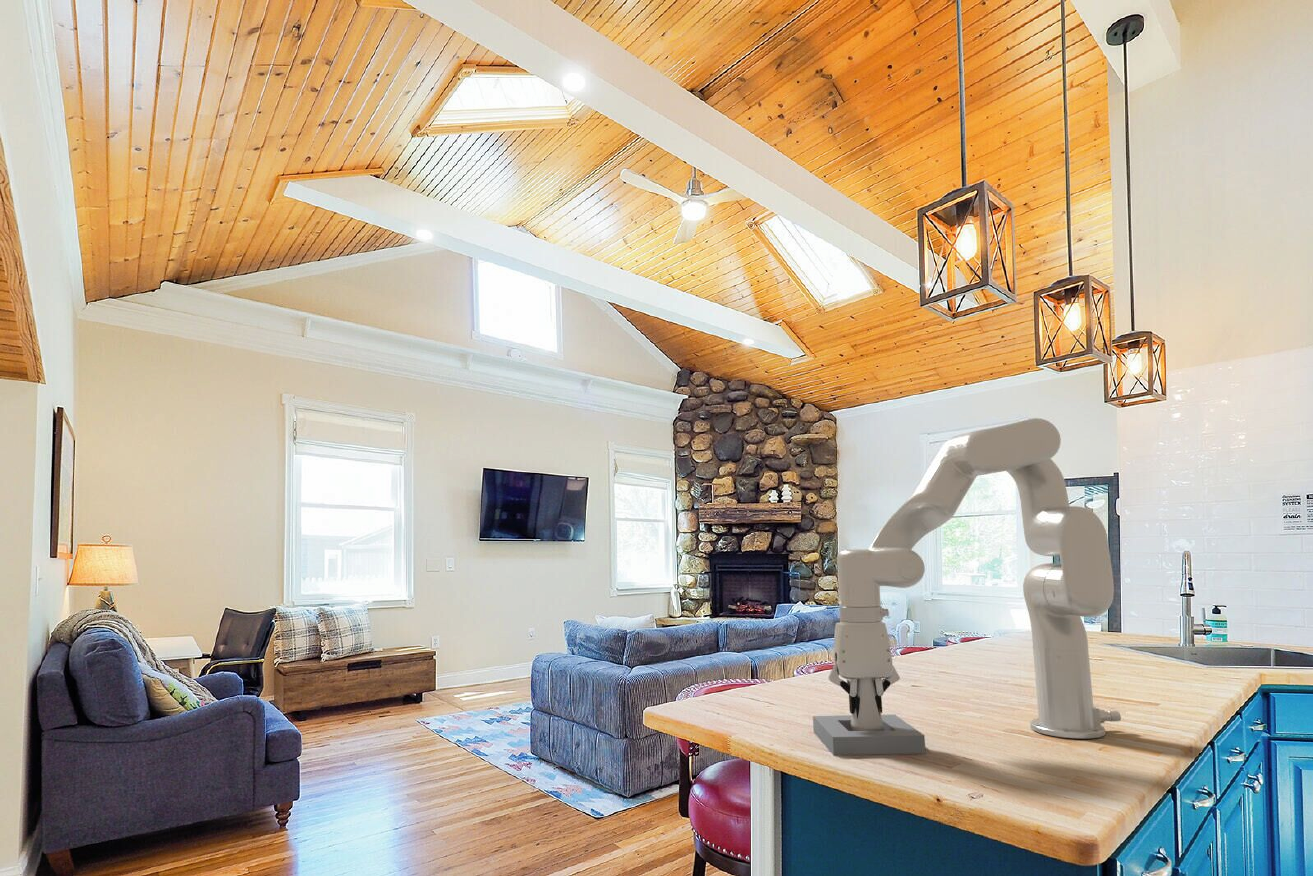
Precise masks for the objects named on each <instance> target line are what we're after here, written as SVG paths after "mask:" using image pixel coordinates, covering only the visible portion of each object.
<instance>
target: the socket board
mask: <svg viewBox="0 0 1313 876" xmlns="http://www.w3.org/2000/svg"><path fill="white" fill-rule="evenodd" d="M851 717H852V714H851V715H847V714H846V715H812V721H813V723H812V724H813V725H812V727H813V729H812V730H813V733H814V734H815V735H816V737H817V738H818V739H819V740H820V742H821V743H822V744H823V745H824V746H825V747H826V748H827V749H828V750H829V752H830V753H831V754H832V755H833V756H855V755H856V756H857V755H858V756H860V755H904V754H905V755H908V754H909V755H912V754H913V755H914V754H915V755H917V754H919V755H920V754H926V739H925V737H926V736H925V735H924V734H923V733H922V732H921V731H919V730H918V729H916V728H914V727H913V726H912V725H911V724H909V723H908V722H906V721H905V720H903V719H902V718H901V717H899V716H898V715H896V714H881V717H882V721H883V730H882V731H853V729H852V726H851Z"/></svg>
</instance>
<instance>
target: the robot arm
mask: <svg viewBox="0 0 1313 876" xmlns="http://www.w3.org/2000/svg"><path fill="white" fill-rule="evenodd" d="M1061 439H1062V438H1061V435H1060V431H1059V430H1058V428H1057V427H1056V426H1055V425H1054V424H1053V423H1052V422H1050V421H1049V420H1047V419H1044V418H1039V417H1038V418H1037V417H1034V418H1029V419H1024V420H1021V421H1016V422H1011V423H1008V424H1005V425H1004V424H1003V425H999V426H994V427H990V428H989V427H988V428H985V429H984V428H983V429H978V430H974V431H969V432H965V433H961V434H957V435H955V436H953V437H949V438H948V439H947V440H945V442H944V443H943V444H942V445H941V446H940V448H939V449H938V452H937V453H936V455H935V456H934V457H933V459H932V461H931V463H930V464H929V466H928V467H927V470H925V472H924V475H923V476H922V478H921V479H920V481H919V483H918V485H917V486H916V487H915V489H914V490H913V492H912V494H911V496H909V498H908V499H907V500H906V501H904V503H903V504H901V506H900V507H899V508H898V509H897V510H896V511H895V512H894V513H893V515H892V516H891V517H889V519H888V520H887V521H886V522H885V524H884V525H883V526H882V527H881V529H880V530H879V532H878V533H877V535H876V536H875V538H874V540H873V542H871V545H870V546H869V548H868V549H867V548H866V549H860V548H859V549H844V550H840V551H839V553H838V554H837V558H836V562H837V567H836V568H837V584H838V598H839V599H838V601H839V618H840V619H839V621H840V622H836V623H835V627H834V636H833V667H832V668H831V671H830V673H829V676H828V681H829V682H831V683H833V684H835V685H837V687H838V686H839V687H840V688H841V689H843V691H844V692H846V693H847V694H848V702H849V703H848V705H849V706H848V707H849V713H850V714H851V715H852V714H854V713H855V708H856V714H857V718H858V714H859V704H860V698H859V697H858V696H857V679H862V678H868V677H865V676H870V678H871V679H873V681H874V686H875V690H876V695H877V696H875V700H876V704H877V708H878V712H879V715H880V712H881V714H882V713H883V703H882V702H883V701H882V696H884V693H885V692H886V691H887V689H888V688H889V687H890V686H892V685H893V684H895V683H897V682H899V680H901V679H900V675H899V674H898V671H897V669H896V668H895V667H894V665H893V657H892V656H893V655H892V649H891V643H890V638H889V633H888V629H887V626H886V623H885V622H882V621H883V620H884V618H885V617H888V616H889V615H890V611H889V609H888V608H883V607H882V605H881V592H880V591H881V588H880V587H891V588H899V589H906V588H907V589H908V588H910V587H914V586H916V585H917V584H918V583H920V582H921V581H922V578H923V577H924V575H925V570H926V569H925V563H924V560H923V558H922V557H921V556H920V555H919V553H917V552H915V550H912V549H913V548H914V547H915V546H916V544H917V543H919V542H920V540H922V539H923V538H924V537H925V536H926V535H928V534H930V533H931V532H933V531H935V530H936V529H938V528H940V527H941V526H943V525H944V524H946V523H947V522H948V521H950V520H952V519H953V517H954V516H955V514H956V513H957V511H958V509H959V507H960V505H961V503H962V501H963V500H964V498H965V497H966V495H967V493H968V491H969V490H970V488H971V486H972V485H973V483H974V481H975V480H976V478H977V477H978V476H984V475H989V474H996V473H1002V472H1005V471H1006V472H1007V473H1008V474H1009V475H1010V477H1012V479H1013V480H1014V482H1015V484H1016V486H1017V490H1018V494H1019V500H1020V508H1021V517H1022V518H1021V519H1022V526H1023V534H1024V539H1025V543H1026V545H1027V547H1028V548H1029V550H1030V551H1032V552H1033V553H1035V554H1037V555H1040V556H1043V557H1044V556H1045V557H1057V558H1058V557H1059V559H1060V563H1056V562H1055V563H1054V562H1051V563H1050V562H1049V563H1043V564H1042V563H1041V564H1038V565H1036V566H1034V567H1032V568H1031V569H1030V570H1028V572H1027V574H1026V575H1025V577H1024V580H1023V584H1022V590H1023V591H1022V592H1023V596H1024V602H1025V604H1026V608H1027V609H1026V610H1027V613H1028V616H1029V621H1030V627H1031V628H1030V629H1031V640H1032V651H1033V652H1032V653H1033V654H1032V655H1033V664H1034V666H1033V667H1034V676H1035V688H1036V689H1035V690H1036V703H1037V712H1038V715H1037V716H1038V717H1037V718H1034V719H1032V720H1030V723H1029V724H1030V728H1031V729H1032V730H1033V731H1034V732H1037V733H1039V734H1043V735H1046V736H1051V737H1057V738H1066V739H1083V740H1084V739H1097V738H1102V737H1103V736H1105V735H1106V728H1105V726H1103V725H1102V724H1104V723H1105V722H1109V723H1110V722H1121V719H1122V716H1121V713H1120V711H1118V710H1107V711H1105V709H1100V708H1098V707H1096V706H1094V698H1093V697H1094V696H1093V688H1092V687H1093V686H1092V677H1091V666H1090V665H1091V664H1090V654H1089V643H1088V642H1089V640H1088V634H1087V631H1086V627H1085V625H1084V622H1083V620H1082V618H1081V617H1083V618H1094V617H1095V618H1096V617H1099V616H1101V615H1104V613H1106V612H1107V611H1108V610H1109V609H1110V607H1111V605H1112V603H1113V599H1114V594H1115V587H1114V577H1113V575H1114V574H1113V570H1112V569H1113V568H1112V561H1111V553H1110V546H1109V539H1108V534H1107V530H1106V528H1105V525H1104V524H1103V521H1102V520H1101V519H1100V517H1099V516H1098V515H1097V514H1096V512H1094V511H1092V510H1090V509H1088V508H1087V507H1082V506H1076V505H1074V506H1073V505H1071V506H1070V501H1069V497H1068V492H1067V486H1066V480H1065V478H1064V476H1063V473H1062V472H1061V470H1060V468H1059V466H1058V465H1057V464H1056V463H1055V462H1054V461H1053V459H1052V458H1053V457H1055V456H1056V454H1057V453H1058V451H1059V449H1060V447H1061ZM839 676H840V677H841V678H842V679H841V678H840V677H839ZM843 679H845V680H846V681H845V680H843Z"/></svg>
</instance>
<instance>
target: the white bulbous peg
mask: <svg viewBox="0 0 1313 876" xmlns="http://www.w3.org/2000/svg"><path fill="white" fill-rule="evenodd" d="M865 677H868V678H862V679H857V696H858V697H859V698H860V704H859V714H858V718H857V714H856V708H855V713H854V714H851V715H852V717H851V726H852V729H853V731H882V730H883V721H882V717H881V715H882V713H881V712H880V715H879V712H878V708H877V704H876V700H875V696H877V695H876V690H875V686H874V681H873V679H871V678H870V676H865Z"/></svg>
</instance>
